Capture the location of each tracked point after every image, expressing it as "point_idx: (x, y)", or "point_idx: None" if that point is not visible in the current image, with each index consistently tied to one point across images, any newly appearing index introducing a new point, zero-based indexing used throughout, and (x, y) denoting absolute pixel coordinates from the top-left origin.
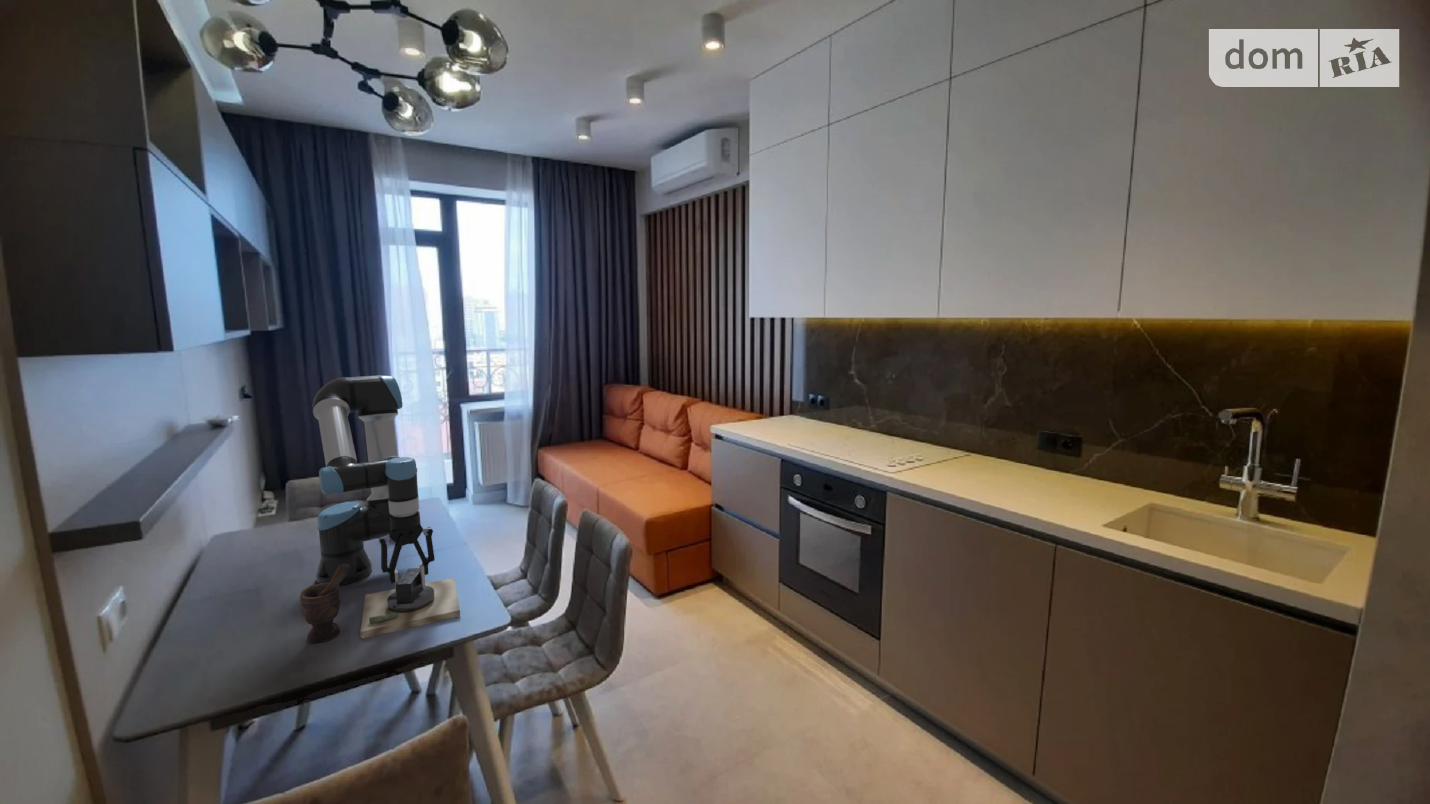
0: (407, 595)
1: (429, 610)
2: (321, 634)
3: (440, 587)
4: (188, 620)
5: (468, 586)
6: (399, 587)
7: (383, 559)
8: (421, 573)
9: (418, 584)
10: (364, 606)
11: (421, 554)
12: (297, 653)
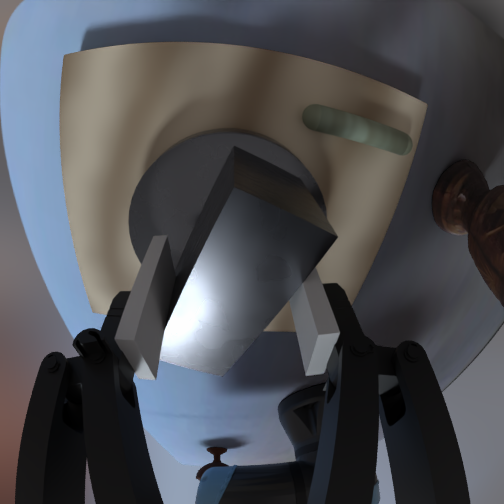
0: (257, 168)
1: (166, 100)
2: (481, 176)
3: (122, 277)
4: (482, 340)
5: (60, 263)
6: (309, 213)
7: (449, 436)
8: (147, 298)
9: (184, 262)
10: (366, 273)
11: (103, 442)
12: (499, 153)
